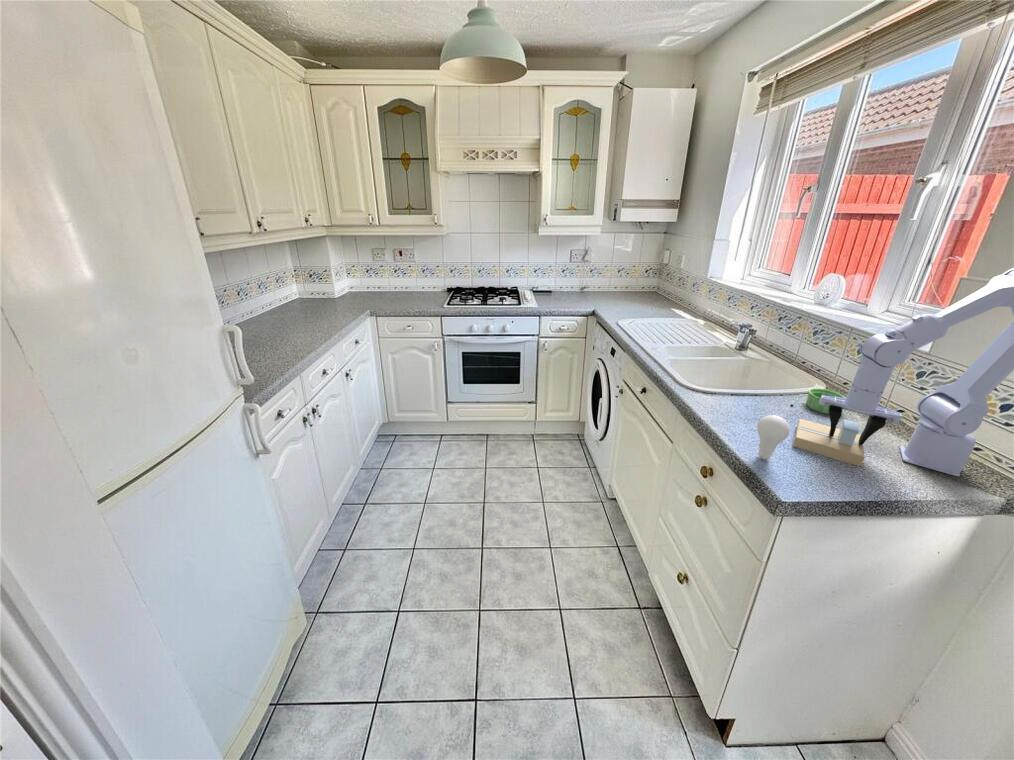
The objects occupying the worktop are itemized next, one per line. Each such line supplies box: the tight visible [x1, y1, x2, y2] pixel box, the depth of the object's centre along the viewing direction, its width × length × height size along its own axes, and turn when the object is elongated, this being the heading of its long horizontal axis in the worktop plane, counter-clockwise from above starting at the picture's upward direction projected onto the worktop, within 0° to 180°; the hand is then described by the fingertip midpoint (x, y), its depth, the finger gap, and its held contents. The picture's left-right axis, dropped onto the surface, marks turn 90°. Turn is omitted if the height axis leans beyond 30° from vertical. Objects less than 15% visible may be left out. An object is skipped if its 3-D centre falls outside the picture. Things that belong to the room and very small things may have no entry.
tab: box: [838, 419, 860, 446], centre depth 97 cm, size 3×5×4 cm, turn 143°
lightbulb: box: [756, 414, 791, 460], centre depth 92 cm, size 6×6×11 cm
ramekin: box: [805, 387, 846, 415], centre depth 119 cm, size 9×9×4 cm
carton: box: [792, 418, 865, 467], centre depth 100 cm, size 13×12×3 cm
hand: (845, 439), depth 98 cm, fingers open, 5 cm apart
